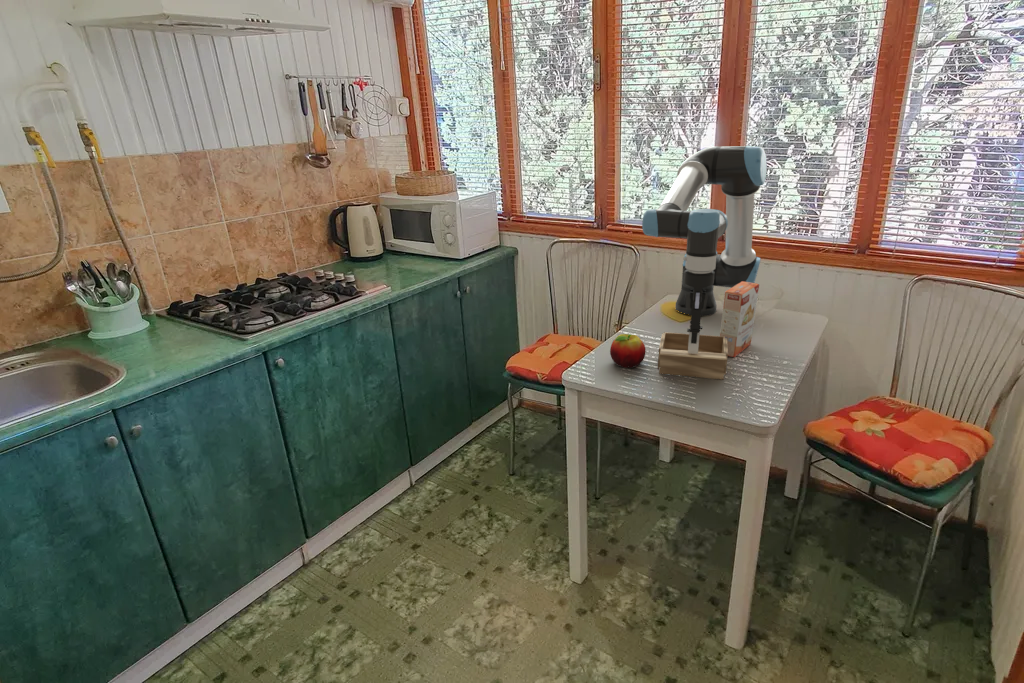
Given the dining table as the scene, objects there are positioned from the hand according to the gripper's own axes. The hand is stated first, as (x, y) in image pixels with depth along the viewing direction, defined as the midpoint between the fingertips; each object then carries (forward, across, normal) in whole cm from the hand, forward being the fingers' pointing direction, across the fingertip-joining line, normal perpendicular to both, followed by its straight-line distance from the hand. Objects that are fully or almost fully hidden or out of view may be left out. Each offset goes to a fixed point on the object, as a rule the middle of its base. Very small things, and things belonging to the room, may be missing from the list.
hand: (692, 352), depth 157 cm
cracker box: (+10, -29, +13) cm, 33 cm away
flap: (+1, -1, 0) cm, 1 cm away
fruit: (+10, -10, -19) cm, 24 cm away
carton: (+10, -12, 0) cm, 16 cm away
